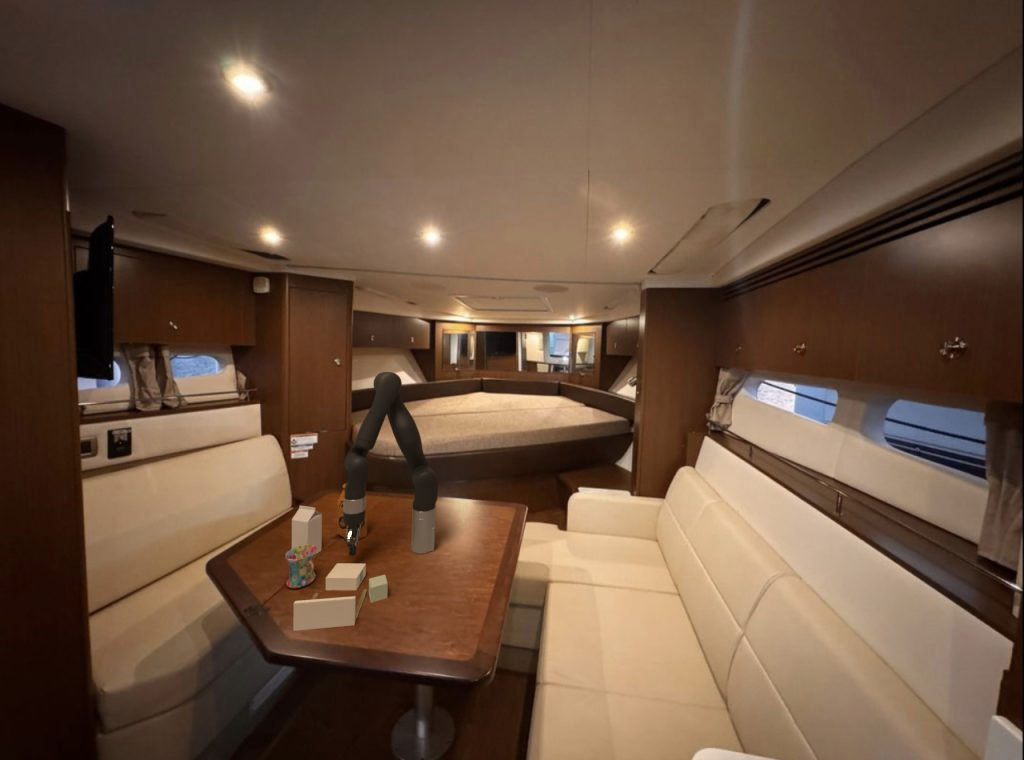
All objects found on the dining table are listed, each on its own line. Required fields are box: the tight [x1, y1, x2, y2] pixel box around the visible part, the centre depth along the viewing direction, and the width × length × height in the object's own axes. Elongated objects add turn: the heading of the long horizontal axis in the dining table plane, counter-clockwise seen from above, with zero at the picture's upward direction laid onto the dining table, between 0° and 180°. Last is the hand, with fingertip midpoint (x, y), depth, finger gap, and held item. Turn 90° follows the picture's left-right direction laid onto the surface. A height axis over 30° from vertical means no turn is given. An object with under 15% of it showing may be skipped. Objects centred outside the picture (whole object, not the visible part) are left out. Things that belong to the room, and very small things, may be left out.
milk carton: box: [291, 505, 323, 556], centre depth 129 cm, size 7×7×19 cm
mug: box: [284, 545, 317, 589], centre depth 112 cm, size 12×9×11 cm
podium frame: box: [310, 588, 368, 622], centre depth 102 cm, size 16×13×1 cm
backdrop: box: [292, 595, 357, 632], centre depth 95 cm, size 16×1×8 cm, turn 100°
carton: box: [325, 562, 367, 591], centre depth 114 cm, size 10×8×4 cm
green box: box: [368, 574, 389, 604], centre depth 108 cm, size 5×5×5 cm
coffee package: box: [336, 483, 369, 541], centre depth 144 cm, size 10×12×22 cm
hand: (352, 554), depth 123 cm, fingers closed
